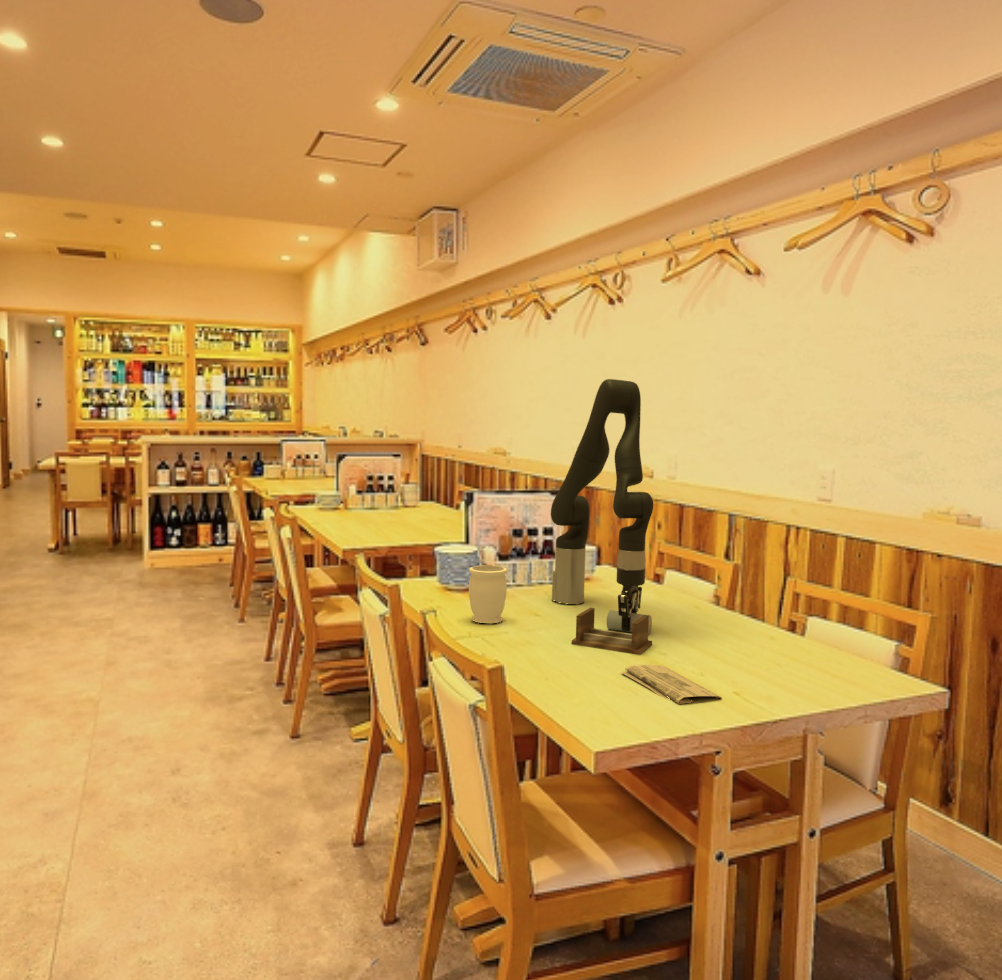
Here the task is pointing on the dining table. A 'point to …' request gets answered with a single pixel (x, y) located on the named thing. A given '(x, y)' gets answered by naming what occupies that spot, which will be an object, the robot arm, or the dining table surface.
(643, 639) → the holder
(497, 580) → the jar
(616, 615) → the cylinder
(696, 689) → the newspaper
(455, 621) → the dining table surface
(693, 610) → the dining table surface
